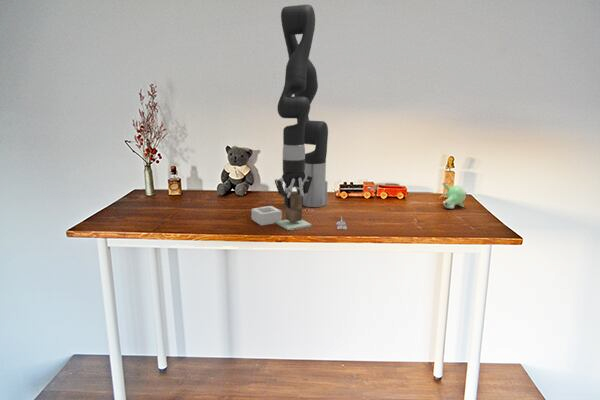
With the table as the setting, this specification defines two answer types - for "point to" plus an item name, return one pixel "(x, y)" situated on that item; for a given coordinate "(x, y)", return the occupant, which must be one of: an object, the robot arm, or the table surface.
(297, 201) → the walnut block
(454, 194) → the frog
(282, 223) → the green mat
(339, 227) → the grey eared piece
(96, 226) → the table surface
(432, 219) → the table surface
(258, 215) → the pocket holder
